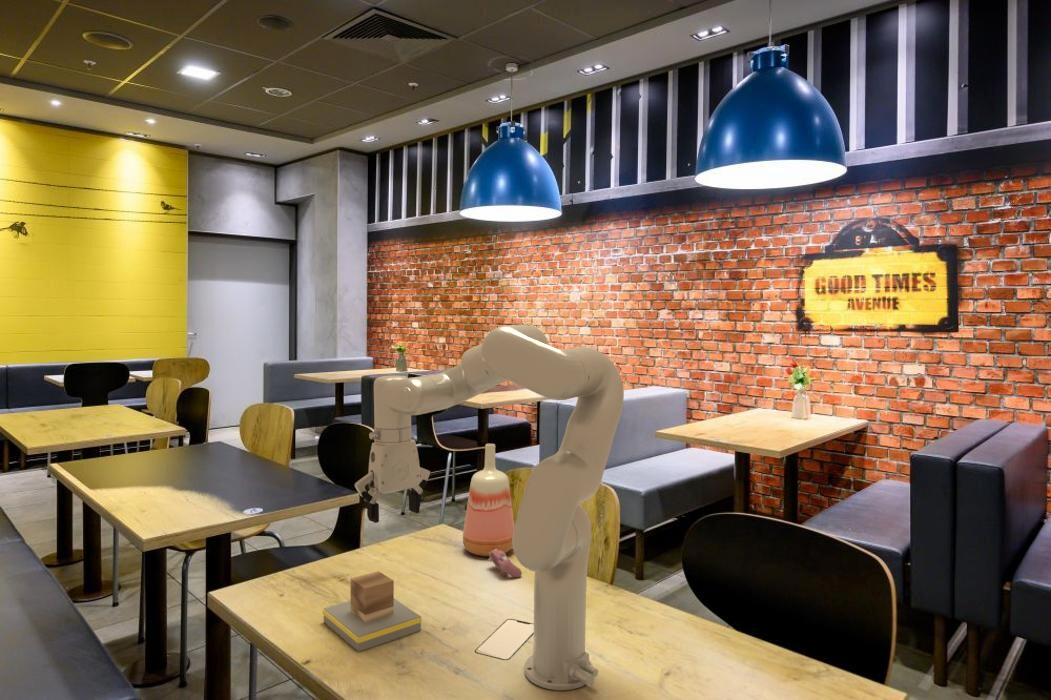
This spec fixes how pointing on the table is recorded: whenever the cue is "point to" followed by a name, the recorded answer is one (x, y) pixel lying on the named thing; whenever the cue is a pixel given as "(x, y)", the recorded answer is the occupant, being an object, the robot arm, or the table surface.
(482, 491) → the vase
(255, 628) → the table surface
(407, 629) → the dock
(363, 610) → the brown wooden block
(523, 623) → the smartphone
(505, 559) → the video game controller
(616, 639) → the table surface
